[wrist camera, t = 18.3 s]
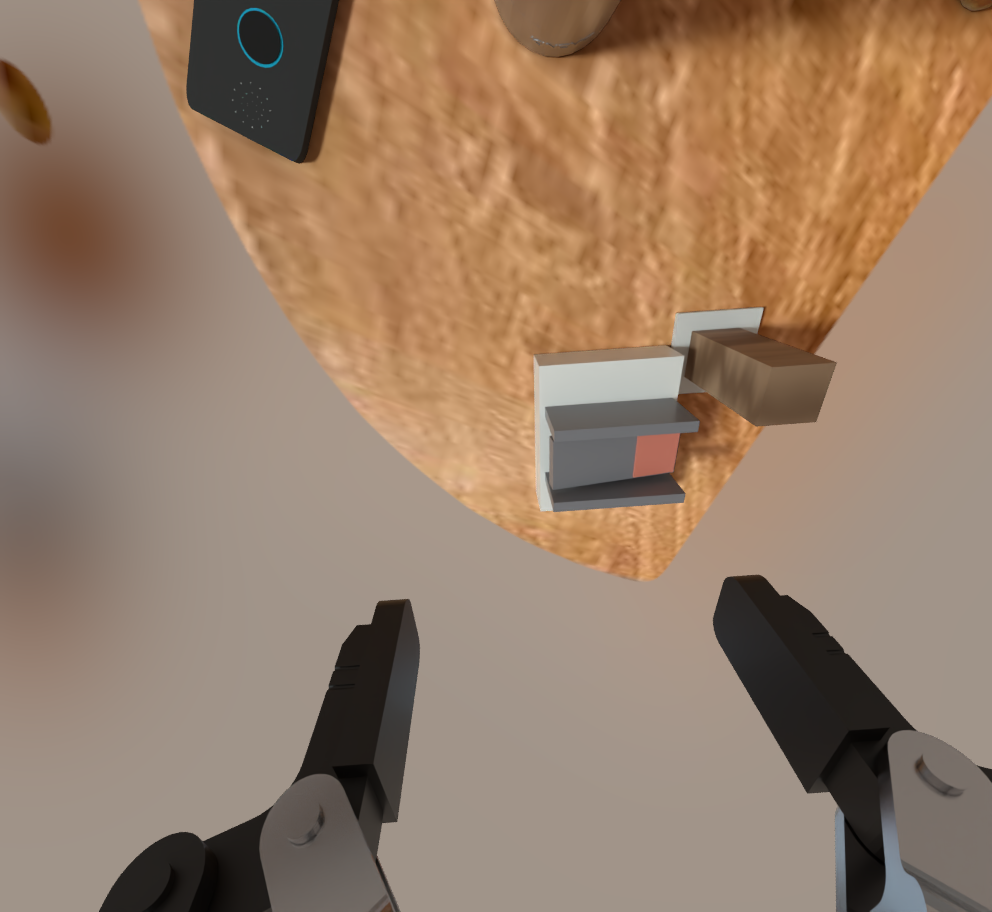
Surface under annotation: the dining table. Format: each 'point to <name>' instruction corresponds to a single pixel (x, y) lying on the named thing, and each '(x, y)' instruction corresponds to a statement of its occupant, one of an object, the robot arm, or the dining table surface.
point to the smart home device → (261, 67)
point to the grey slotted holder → (607, 418)
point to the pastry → (976, 4)
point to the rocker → (610, 459)
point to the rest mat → (709, 321)
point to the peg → (759, 376)
